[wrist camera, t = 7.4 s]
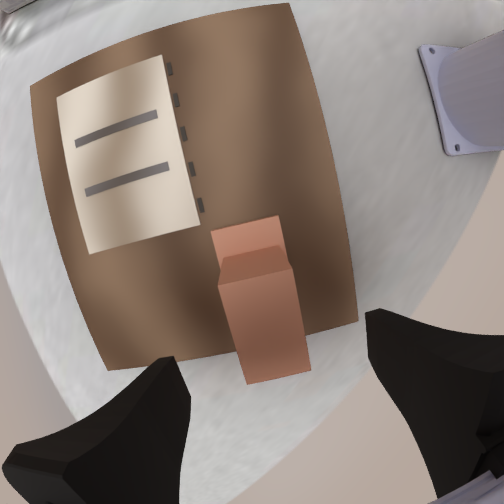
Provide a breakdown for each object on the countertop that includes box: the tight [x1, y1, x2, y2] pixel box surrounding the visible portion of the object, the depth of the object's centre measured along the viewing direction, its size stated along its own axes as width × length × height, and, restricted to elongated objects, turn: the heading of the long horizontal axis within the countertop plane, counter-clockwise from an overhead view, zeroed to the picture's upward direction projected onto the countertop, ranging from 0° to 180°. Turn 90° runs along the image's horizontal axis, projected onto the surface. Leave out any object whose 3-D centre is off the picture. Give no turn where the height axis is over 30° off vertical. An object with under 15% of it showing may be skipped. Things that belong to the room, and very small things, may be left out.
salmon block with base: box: [211, 215, 311, 385], centre depth 15 cm, size 4×8×5 cm, turn 13°
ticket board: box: [30, 3, 358, 371], centre depth 17 cm, size 17×20×2 cm
